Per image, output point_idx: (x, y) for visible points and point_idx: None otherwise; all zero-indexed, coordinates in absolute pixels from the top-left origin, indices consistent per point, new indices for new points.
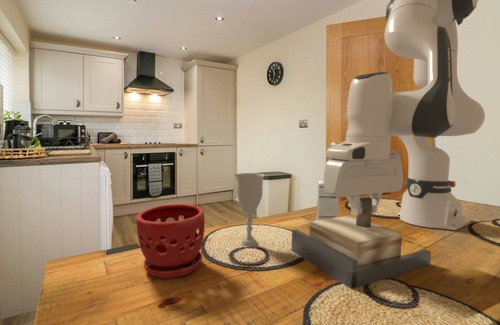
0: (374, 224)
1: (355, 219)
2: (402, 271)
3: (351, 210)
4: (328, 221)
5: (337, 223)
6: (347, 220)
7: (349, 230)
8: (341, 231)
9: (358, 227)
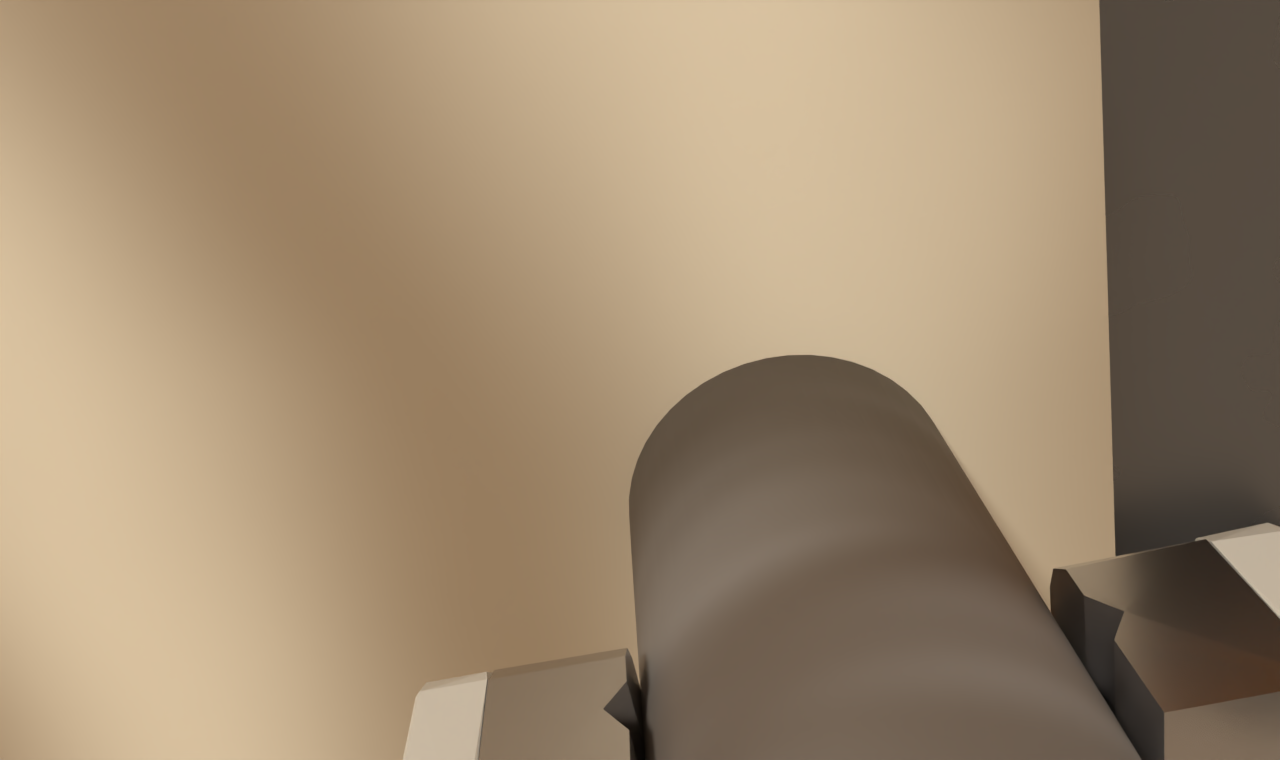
0: (1080, 504)
1: (936, 43)
2: None
3: (411, 757)
4: (20, 51)
5: (216, 270)
6: (645, 75)
7: (267, 729)
8: (74, 742)
9: (574, 607)
